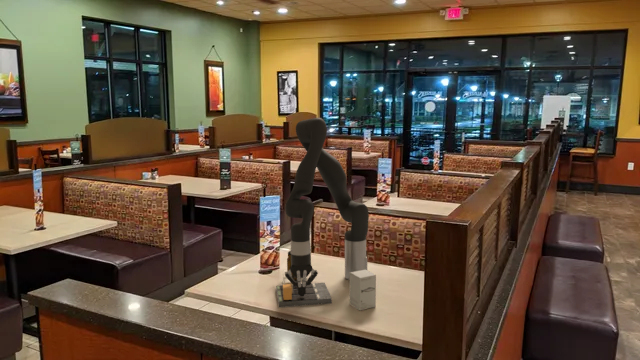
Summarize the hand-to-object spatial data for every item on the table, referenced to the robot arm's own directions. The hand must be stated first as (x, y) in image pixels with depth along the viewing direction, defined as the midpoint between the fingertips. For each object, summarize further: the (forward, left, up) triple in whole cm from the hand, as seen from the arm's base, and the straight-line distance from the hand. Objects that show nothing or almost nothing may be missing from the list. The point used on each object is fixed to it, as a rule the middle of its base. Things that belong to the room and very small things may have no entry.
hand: (301, 295), depth 184 cm
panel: (-1, -6, -3) cm, 6 cm away
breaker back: (+5, -12, 0) cm, 12 cm away
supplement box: (-22, +7, -3) cm, 23 cm away
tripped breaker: (+6, 0, 0) cm, 6 cm away
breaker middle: (+5, -6, 0) cm, 7 cm away
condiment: (0, -26, -3) cm, 26 cm away
